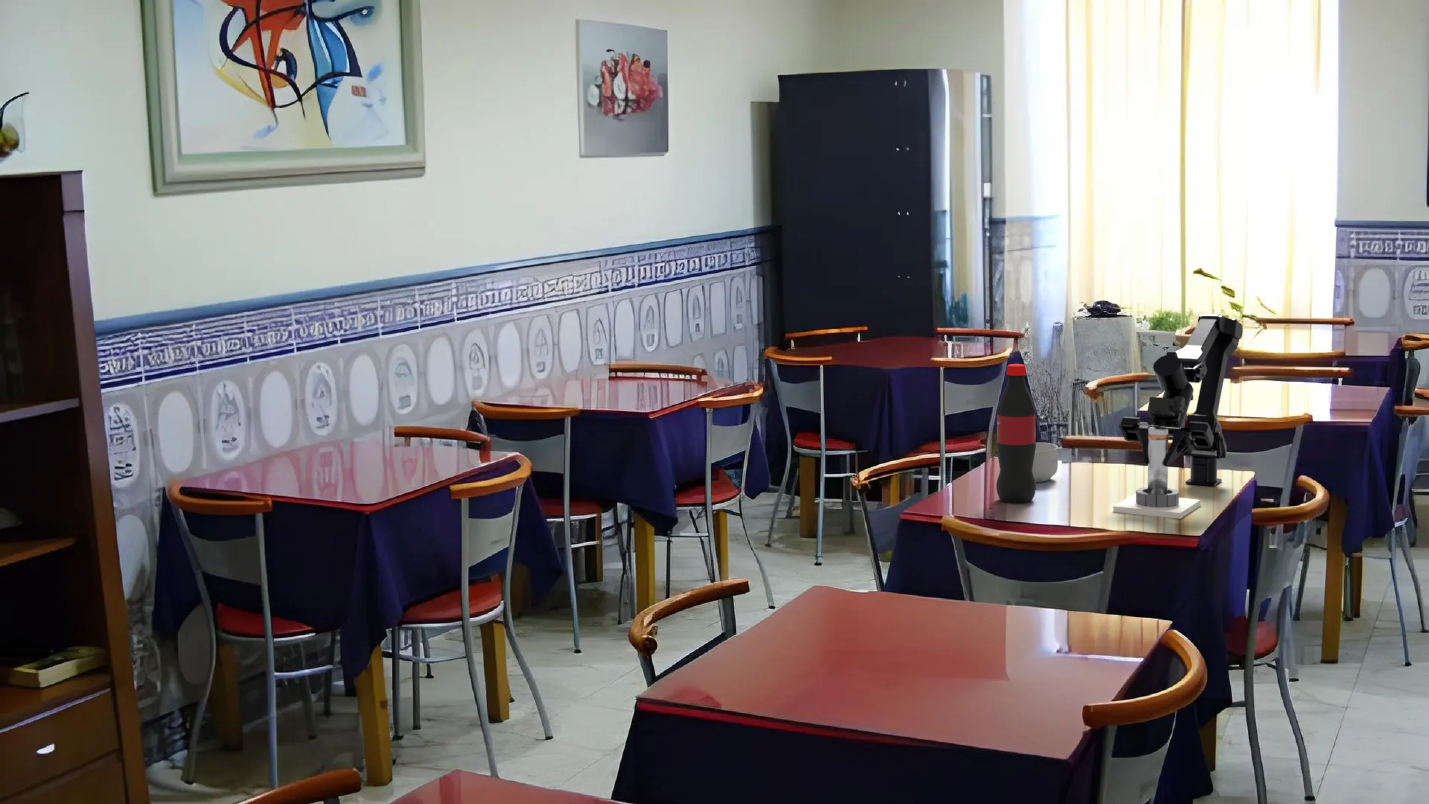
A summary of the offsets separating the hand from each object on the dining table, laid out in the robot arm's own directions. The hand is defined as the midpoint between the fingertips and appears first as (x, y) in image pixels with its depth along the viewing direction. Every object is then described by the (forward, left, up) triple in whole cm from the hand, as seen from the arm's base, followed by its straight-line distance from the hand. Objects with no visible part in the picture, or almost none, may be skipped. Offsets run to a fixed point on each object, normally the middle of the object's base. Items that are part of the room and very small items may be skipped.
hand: (1155, 464), depth 303 cm
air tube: (-1, 0, -8) cm, 8 cm away
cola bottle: (+5, -29, -10) cm, 31 cm away
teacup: (-19, -35, -10) cm, 41 cm away
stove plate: (-1, 0, -10) cm, 10 cm away
